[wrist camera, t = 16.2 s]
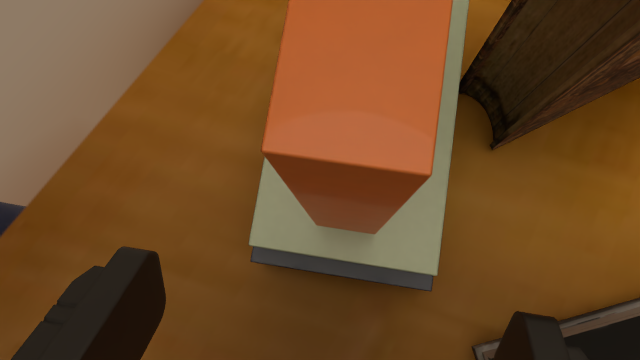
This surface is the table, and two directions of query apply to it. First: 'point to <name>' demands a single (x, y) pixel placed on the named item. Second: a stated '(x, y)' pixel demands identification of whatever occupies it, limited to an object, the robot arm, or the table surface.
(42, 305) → the table surface
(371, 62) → the orange box
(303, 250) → the box stack
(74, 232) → the table surface
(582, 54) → the book
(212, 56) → the table surface
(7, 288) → the table surface
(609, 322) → the book
